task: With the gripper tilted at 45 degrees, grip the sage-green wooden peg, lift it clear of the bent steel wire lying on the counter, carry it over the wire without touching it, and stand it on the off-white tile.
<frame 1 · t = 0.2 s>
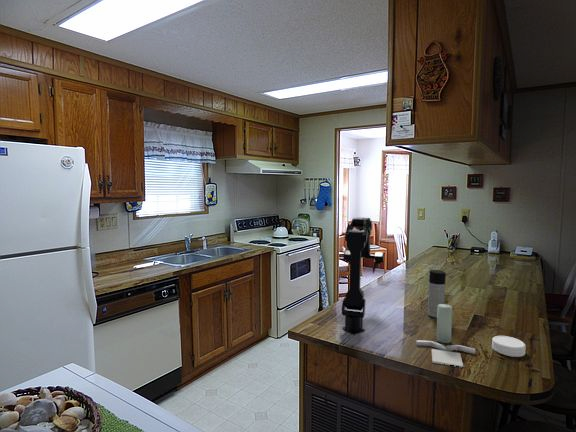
hand: (363, 272, 171), 15 cm above the counter, tool pointing down, fingers open, 9 cm apart
sage peg: (443, 340, 130), on the counter
bent wire: (444, 349, 123), on the counter
spray can: (435, 315, 155), on the counter
coaster: (508, 351, 123), on the counter
tile: (446, 358, 116), on the counter
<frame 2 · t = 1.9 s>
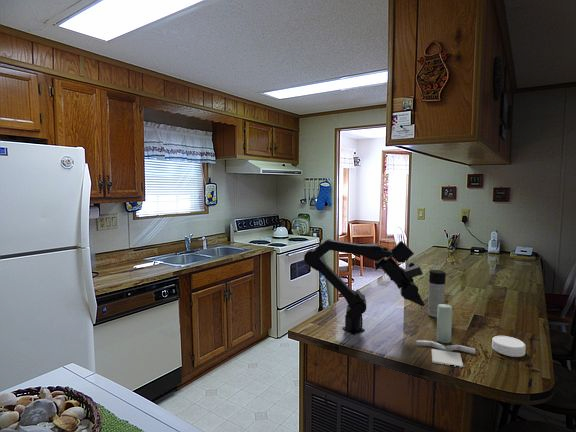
hand: (421, 301, 133), 14 cm above the counter, tool tilted 45°, fingers open, 9 cm apart
nothing on the counter moved.
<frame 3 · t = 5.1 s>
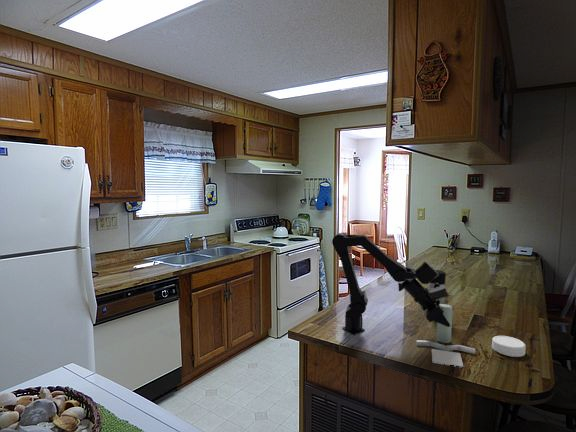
hand: (448, 323, 129), 7 cm above the counter, tool tilted 45°, fingers closed on sage peg, 5 cm apart
sage peg: (443, 340, 130), on the counter, touching gripper
everything else where it was.
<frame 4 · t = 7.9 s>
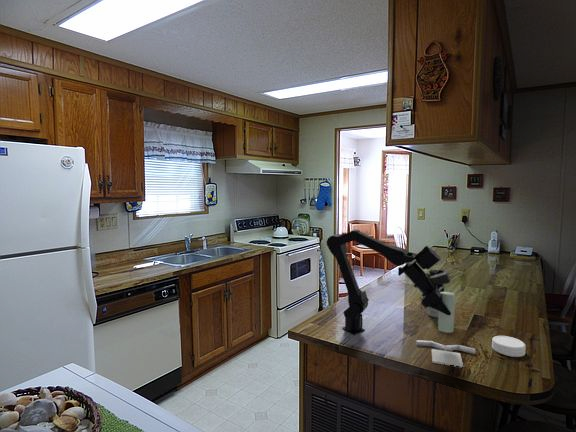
hand: (450, 312, 122), 13 cm above the counter, tool tilted 45°, fingers closed on sage peg, 5 cm apart
sage peg: (445, 329, 123), point 7 cm above the counter, touching gripper
everything else where it was.
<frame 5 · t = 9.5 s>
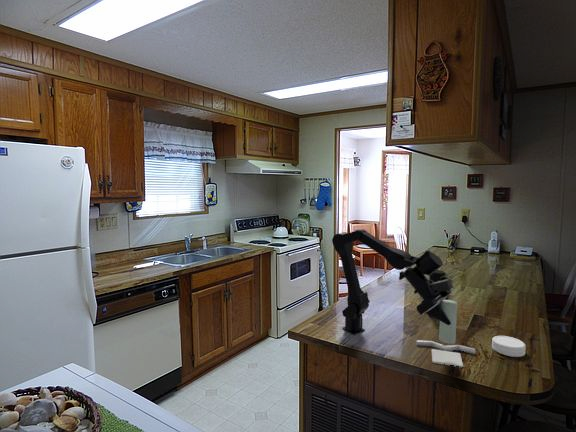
hand: (452, 322, 114), 13 cm above the counter, tool tilted 45°, fingers closed on sage peg, 5 cm apart
sage peg: (447, 340, 116), point 6 cm above the counter, touching gripper
everything else where it was.
when the fingers open (9 cm above the counter, at t = 10.8 s): sage peg drops 1 cm, resting on tile.
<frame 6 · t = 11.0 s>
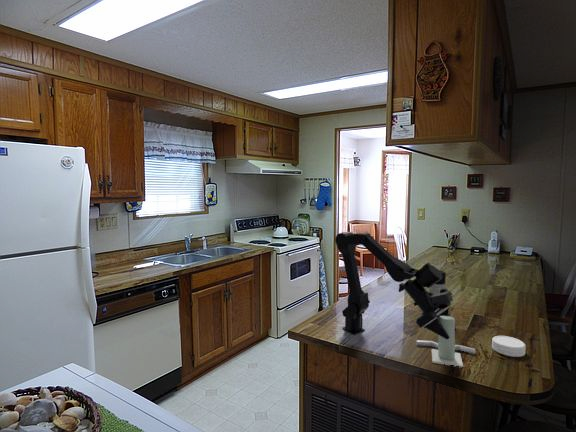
hand: (452, 334, 115), 9 cm above the counter, tool tilted 45°, fingers open, 7 cm apart
sage peg: (446, 356, 116), point 1 cm above the counter, touching tile
everything else where it was.
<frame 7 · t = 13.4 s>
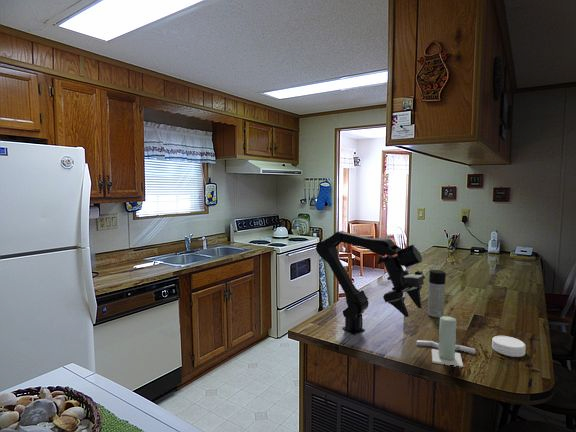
hand: (413, 312, 125), 12 cm above the counter, tool tilted 25°, fingers open, 9 cm apart
nothing on the counter moved.
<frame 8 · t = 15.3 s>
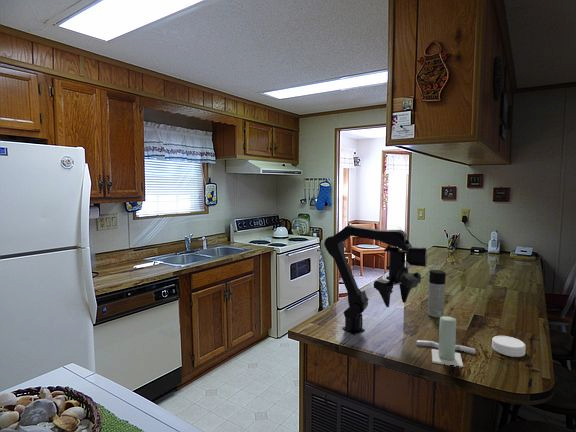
hand: (395, 304, 131), 13 cm above the counter, tool pointing down, fingers open, 9 cm apart
nothing on the counter moved.
at the end: sage peg 0.0 cm off-centre on the tile, point 0.6 cm above the tile's base; sage peg tilted 0°; bent wire moved 0.1 cm from its start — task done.
